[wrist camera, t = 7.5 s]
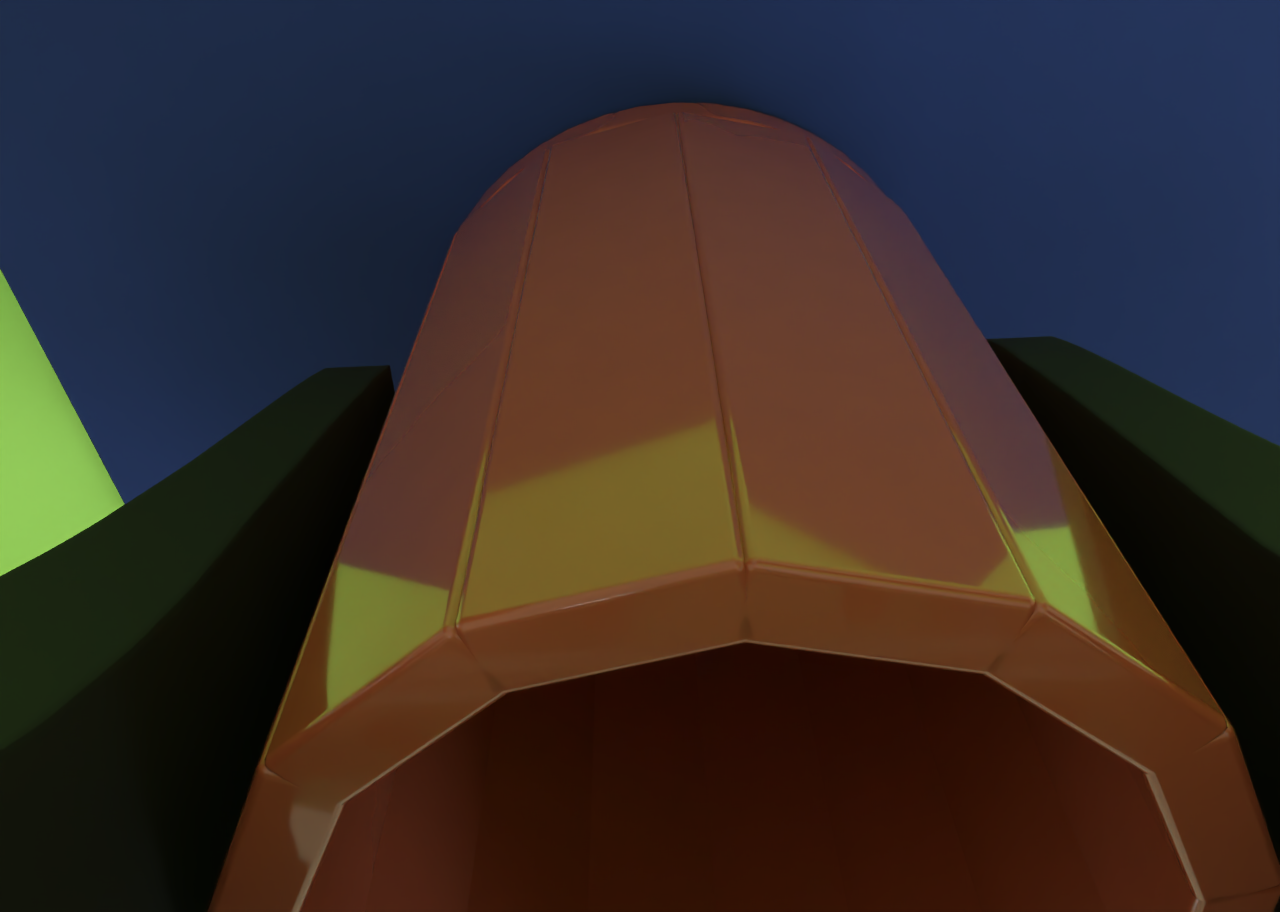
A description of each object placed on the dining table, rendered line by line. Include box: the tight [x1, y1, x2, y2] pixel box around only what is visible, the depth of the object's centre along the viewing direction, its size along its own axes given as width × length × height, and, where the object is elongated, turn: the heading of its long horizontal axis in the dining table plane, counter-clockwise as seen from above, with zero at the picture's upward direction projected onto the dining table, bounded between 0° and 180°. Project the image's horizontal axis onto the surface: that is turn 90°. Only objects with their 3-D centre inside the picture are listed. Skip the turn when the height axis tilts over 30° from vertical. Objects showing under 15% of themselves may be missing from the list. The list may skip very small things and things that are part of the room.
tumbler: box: [206, 103, 1280, 912], centre depth 9 cm, size 6×6×8 cm
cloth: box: [0, 0, 1280, 504], centre depth 12 cm, size 14×13×1 cm
